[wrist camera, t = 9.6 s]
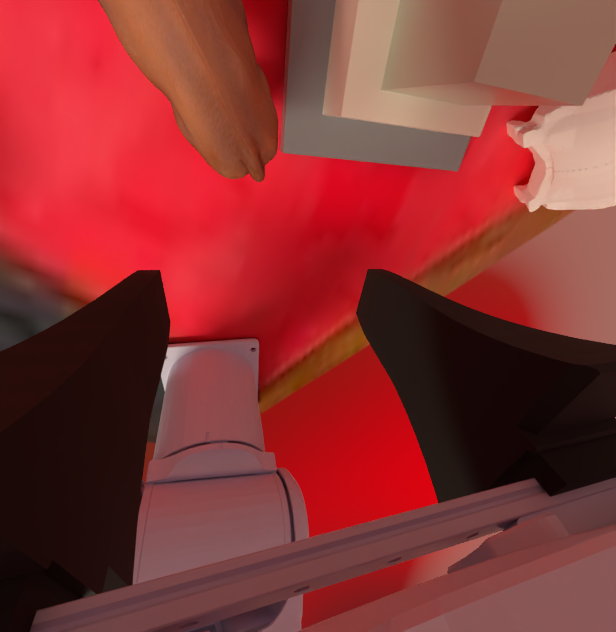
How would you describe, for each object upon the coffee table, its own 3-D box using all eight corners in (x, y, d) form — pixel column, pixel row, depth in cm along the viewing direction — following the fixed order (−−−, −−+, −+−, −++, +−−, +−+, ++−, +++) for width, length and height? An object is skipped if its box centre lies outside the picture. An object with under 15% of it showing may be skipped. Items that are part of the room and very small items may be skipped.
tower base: (448, 168, 20) (491, 180, 17) (280, 150, 17) (294, 161, 14) (563, -154, 13) (676, -238, 10) (304, -298, 10) (347, -493, 6)
